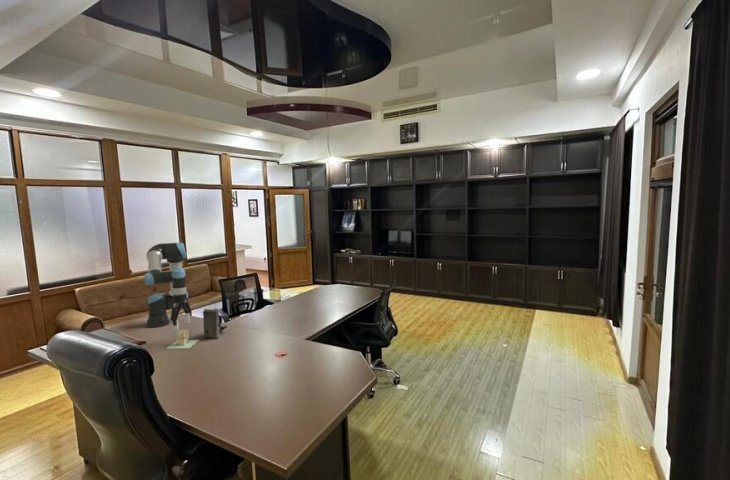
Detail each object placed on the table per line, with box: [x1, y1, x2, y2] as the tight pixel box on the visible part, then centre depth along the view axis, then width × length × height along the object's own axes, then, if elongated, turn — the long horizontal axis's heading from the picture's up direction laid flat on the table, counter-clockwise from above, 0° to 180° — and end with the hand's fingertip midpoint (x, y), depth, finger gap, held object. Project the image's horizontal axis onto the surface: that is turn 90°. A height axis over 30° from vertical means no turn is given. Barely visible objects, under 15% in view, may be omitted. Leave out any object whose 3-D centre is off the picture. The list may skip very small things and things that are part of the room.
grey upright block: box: [202, 308, 228, 339], centre depth 234 cm, size 10×16×20 cm, turn 174°
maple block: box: [175, 329, 190, 345], centre depth 217 cm, size 5×5×8 cm
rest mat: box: [165, 339, 200, 350], centre depth 218 cm, size 14×14×1 cm
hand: (181, 326), depth 217 cm, fingers open, 13 cm apart
